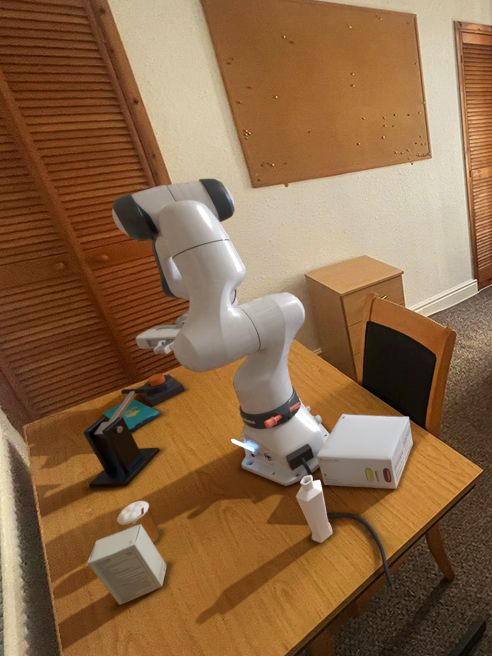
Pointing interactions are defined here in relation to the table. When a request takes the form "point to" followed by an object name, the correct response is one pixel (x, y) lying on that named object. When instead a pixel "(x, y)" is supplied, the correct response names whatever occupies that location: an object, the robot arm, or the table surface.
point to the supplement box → (366, 451)
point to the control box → (162, 390)
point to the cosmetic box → (128, 564)
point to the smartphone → (134, 414)
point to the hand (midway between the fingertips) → (159, 352)
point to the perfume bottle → (314, 508)
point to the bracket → (117, 454)
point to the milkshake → (139, 518)
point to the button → (156, 379)
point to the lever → (120, 409)
